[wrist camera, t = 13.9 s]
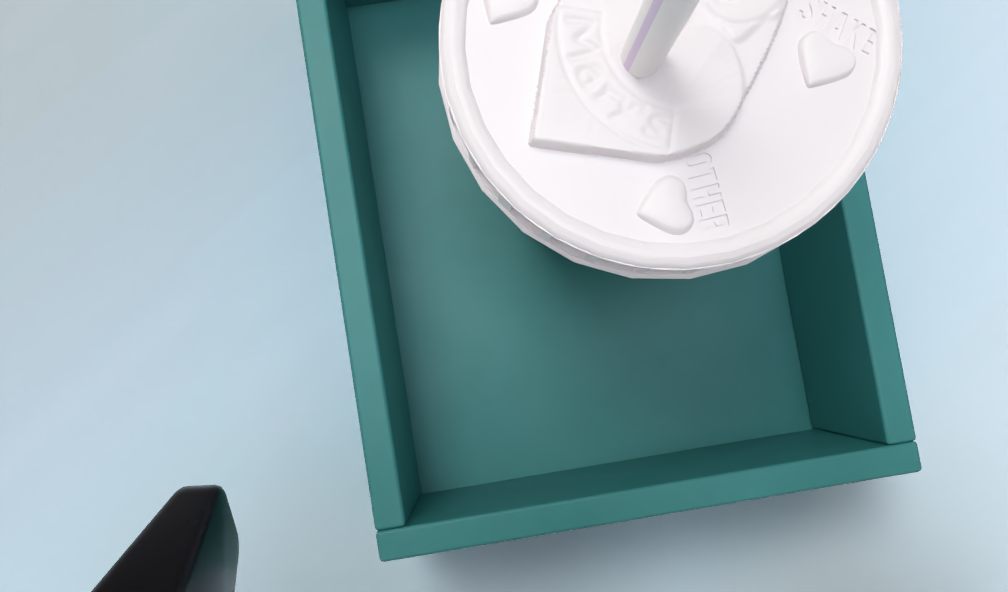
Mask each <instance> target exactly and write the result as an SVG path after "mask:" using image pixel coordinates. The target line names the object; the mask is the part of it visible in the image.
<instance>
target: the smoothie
mask: <svg viewBox="0 0 1008 592" xmlns="http://www.w3.org/2000/svg"><path fill="white" fill-rule="evenodd" d="M902 51H903V47H902V26H901V18H900V11H899V4H898V0H442V3H441V10H440V20H439V87H440V91H441V95H442V99H443V102H444V106H445V110H446V114H447V118H448V122H449V126H450V130H451V134H452V138H453V140H454V142H455V144H456V146H457V147H458V149H459V151H460V153H461V155H462V156H463V158H464V160H465V162H466V163H467V165H468V167H469V169H470V170H471V172H472V174H473V176H474V177H475V179H476V181H477V183H478V185H479V186H480V188H481V190H482V191H483V192H484V193H485V194H486V195H487V196H488V197H489V198H490V199H491V200H492V201H493V202H494V203H495V204H496V205H497V206H498V207H499V208H500V209H501V210H502V211H503V212H504V213H505V214H506V215H507V216H508V217H509V218H510V219H511V220H512V222H513V223H514V224H515V225H516V226H517V227H518V228H519V229H520V230H521V231H522V232H523V233H525V234H527V235H529V236H530V237H532V238H534V239H535V240H537V241H539V242H540V243H542V244H544V245H546V246H547V247H549V248H551V249H552V250H554V251H556V252H557V253H559V254H561V255H562V256H564V257H566V258H568V259H569V260H571V261H573V262H575V263H578V264H582V265H585V266H589V267H593V268H596V269H600V270H603V271H607V272H610V273H614V274H618V275H621V276H625V277H628V278H650V279H692V278H696V277H700V276H704V275H708V274H712V273H715V272H719V271H723V270H727V269H731V268H735V267H739V266H743V265H747V264H749V263H750V262H752V261H754V260H756V259H757V258H759V257H761V256H763V255H764V254H766V253H768V252H770V251H771V250H773V249H775V248H777V247H779V246H780V245H782V244H784V243H786V242H787V241H789V240H791V239H793V238H794V237H796V236H798V235H799V234H800V233H802V232H803V231H805V230H806V229H808V228H809V227H811V226H812V225H813V224H815V223H816V222H817V221H819V220H820V219H821V218H822V217H823V216H824V215H826V214H827V213H828V212H829V211H830V210H832V209H833V208H834V207H835V206H836V205H837V204H838V202H839V201H840V200H841V199H842V198H843V197H844V196H845V195H846V194H847V193H848V192H849V191H850V189H851V188H852V187H853V186H854V184H855V183H856V182H857V181H858V179H859V178H860V177H861V176H862V174H863V173H864V171H865V169H866V168H867V166H868V165H869V163H870V162H871V160H872V158H873V157H874V155H875V153H876V151H877V149H878V147H879V145H880V143H881V141H882V139H883V137H884V135H885V132H886V129H887V127H888V124H889V121H890V119H891V116H892V113H893V109H894V105H895V102H896V98H897V94H898V89H899V82H900V76H901V67H902Z"/></svg>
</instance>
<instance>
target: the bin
mask: <svg viewBox="0 0 1008 592" xmlns="http://www.w3.org/2000/svg"><path fill="white" fill-rule="evenodd" d="M296 2H297V9H298V16H299V22H300V29H301V36H302V42H303V49H304V56H305V62H306V69H307V76H308V82H309V89H310V96H311V102H312V109H313V116H314V122H315V129H316V136H317V143H318V149H319V156H320V163H321V169H322V176H323V183H324V189H325V196H326V203H327V209H328V216H329V223H330V229H331V236H332V243H333V249H334V256H335V263H336V269H337V276H338V283H339V290H340V296H341V303H342V310H343V316H344V323H345V330H346V336H347V343H348V350H349V356H350V363H351V370H352V376H353V383H354V390H355V396H356V403H357V410H358V416H359V423H360V430H361V437H362V443H363V450H364V457H365V463H366V470H367V477H368V483H369V490H370V497H371V503H372V510H373V517H374V523H375V528H376V530H378V531H377V534H376V537H377V543H378V550H379V557H380V560H381V561H383V562H385V561H391V560H397V559H403V558H409V557H415V556H421V555H427V554H433V553H439V552H445V551H450V550H456V549H462V548H468V547H474V546H480V545H486V544H492V543H498V542H504V541H510V540H516V539H522V538H528V537H534V536H539V535H545V534H551V533H557V532H563V531H569V530H575V529H581V528H587V527H593V526H599V525H605V524H611V523H617V522H622V521H628V520H634V519H640V518H646V517H652V516H658V515H664V514H670V513H676V512H682V511H688V510H694V509H700V508H706V507H711V506H717V505H723V504H729V503H735V502H741V501H747V500H753V499H759V498H765V497H771V496H777V495H783V494H789V493H795V492H800V491H806V490H812V489H818V488H824V487H830V486H836V485H842V484H848V483H854V482H860V481H866V480H872V479H878V478H883V477H889V476H895V475H901V474H907V473H913V472H918V471H920V470H921V463H920V458H919V453H918V447H917V444H916V442H914V441H913V440H915V438H916V437H915V432H914V427H913V421H912V416H911V411H910V406H909V400H908V395H907V390H906V385H905V380H904V374H903V369H902V364H901V359H900V354H899V348H898V343H897V338H896V333H895V328H894V322H893V317H892V312H891V307H890V301H889V296H888V291H887V286H886V281H885V275H884V270H883V265H882V260H881V255H880V249H879V244H878V239H877V234H876V229H875V223H874V218H873V213H872V208H871V202H870V197H869V192H868V187H867V182H866V176H865V171H864V173H863V174H862V176H861V177H860V178H859V179H858V181H857V182H856V183H855V184H854V186H853V187H852V188H851V189H850V191H849V192H848V193H847V194H846V195H845V196H844V197H843V198H842V199H841V200H840V201H839V202H838V204H837V205H836V206H835V207H834V208H833V209H832V210H830V211H829V212H828V213H827V214H826V215H824V216H823V217H822V218H821V219H820V220H819V221H817V222H816V223H815V224H813V225H812V226H811V227H809V228H808V229H806V230H805V231H803V232H802V233H800V234H799V235H798V236H796V237H794V238H793V239H791V240H789V241H787V242H786V243H784V244H782V245H780V246H779V247H777V248H775V249H773V250H771V251H770V252H768V253H766V254H764V255H763V256H761V257H759V258H757V259H756V260H754V261H752V262H750V263H749V264H747V265H743V266H739V267H735V268H731V269H727V270H723V271H719V272H715V273H712V274H708V275H704V276H700V277H696V278H692V279H650V278H628V277H625V276H621V275H618V274H614V273H610V272H607V271H603V270H600V269H596V268H593V267H589V266H585V265H582V264H578V263H575V262H573V261H571V260H569V259H568V258H566V257H564V256H562V255H561V254H559V253H557V252H556V251H554V250H552V249H551V248H549V247H547V246H546V245H544V244H542V243H540V242H539V241H537V240H535V239H534V238H532V237H530V236H529V235H527V234H525V233H523V232H522V231H521V230H520V229H519V228H518V227H517V226H516V225H515V224H514V223H513V222H512V220H511V219H510V218H509V217H508V216H507V215H506V214H505V213H504V212H503V211H502V210H501V209H500V208H499V207H498V206H497V205H496V204H495V203H494V202H493V201H492V200H491V199H490V198H489V197H488V196H487V195H486V194H485V193H484V192H483V191H482V190H481V188H480V186H479V185H478V183H477V181H476V179H475V177H474V176H473V174H472V172H471V170H470V169H469V167H468V165H467V163H466V162H465V160H464V158H463V156H462V155H461V153H460V151H459V149H458V147H457V146H456V144H455V142H454V140H453V138H452V134H451V130H450V126H449V122H448V118H447V114H446V110H445V106H444V102H443V99H442V95H441V91H440V87H439V20H440V10H441V3H442V0H296Z"/></svg>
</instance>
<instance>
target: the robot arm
mask: <svg viewBox="0 0 1008 592" xmlns="http://www.w3.org/2000/svg"><path fill="white" fill-rule="evenodd" d="M238 555H239V541H238V534H237V530H236V527H235V523H234V520H233V516H232V513H231V510H230V506H229V503H228V500H227V496H226V494H225V491H224V490H223V489H222V487H220V486H218V485H202V486H186V487H183V488H181V489H179V490H178V491H176V492H175V493H174V495H173V496H172V497H171V498H170V499H169V500H168V502H167V503H166V504H165V505H164V506H163V508H162V509H161V510H160V511H159V512H158V513H157V515H156V516H155V517H154V518H153V519H152V521H151V522H150V523H149V524H148V525H147V526H146V528H145V529H144V530H143V531H142V532H141V534H140V535H139V536H138V537H137V538H136V539H135V541H134V542H133V543H132V544H131V545H130V547H129V548H128V549H127V550H126V551H125V552H124V554H123V555H122V556H121V557H120V558H119V560H118V561H117V562H116V563H115V564H114V565H113V567H112V568H111V569H110V570H109V571H108V573H107V574H106V575H105V576H104V577H103V578H102V580H101V581H100V582H99V583H98V584H97V586H96V587H95V588H94V589H93V590H92V591H91V592H235V583H236V574H237V565H238Z"/></svg>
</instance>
